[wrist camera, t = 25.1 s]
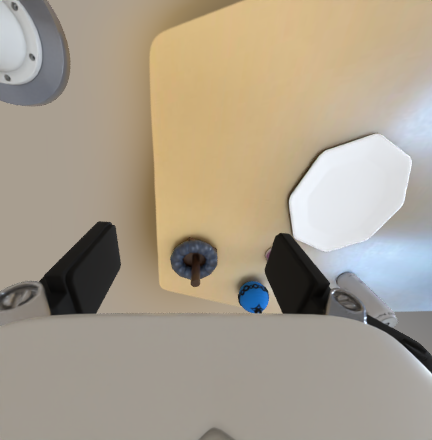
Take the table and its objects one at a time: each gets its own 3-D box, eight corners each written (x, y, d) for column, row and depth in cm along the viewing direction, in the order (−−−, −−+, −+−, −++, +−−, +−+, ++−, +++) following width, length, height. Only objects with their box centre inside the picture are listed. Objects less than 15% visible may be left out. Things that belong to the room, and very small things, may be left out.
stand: (175, 259, 49) (170, 289, 40) (189, 236, 46) (187, 264, 37) (201, 269, 51) (202, 300, 42) (216, 248, 48) (220, 277, 39)
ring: (164, 265, 48) (162, 273, 45) (183, 230, 44) (182, 237, 41) (204, 278, 51) (204, 286, 49) (224, 248, 47) (226, 255, 44)
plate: (280, 163, 39) (283, 164, 38) (413, 118, 37) (421, 118, 36) (294, 257, 52) (296, 261, 51) (393, 228, 50) (398, 231, 49)
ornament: (255, 270, 53) (266, 299, 44) (268, 286, 57) (281, 316, 48) (230, 283, 55) (236, 314, 46) (244, 298, 58) (252, 329, 50)
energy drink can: (356, 279, 59) (401, 325, 45) (337, 287, 60) (377, 334, 47) (352, 268, 56) (399, 313, 43) (333, 276, 57) (373, 323, 44)
